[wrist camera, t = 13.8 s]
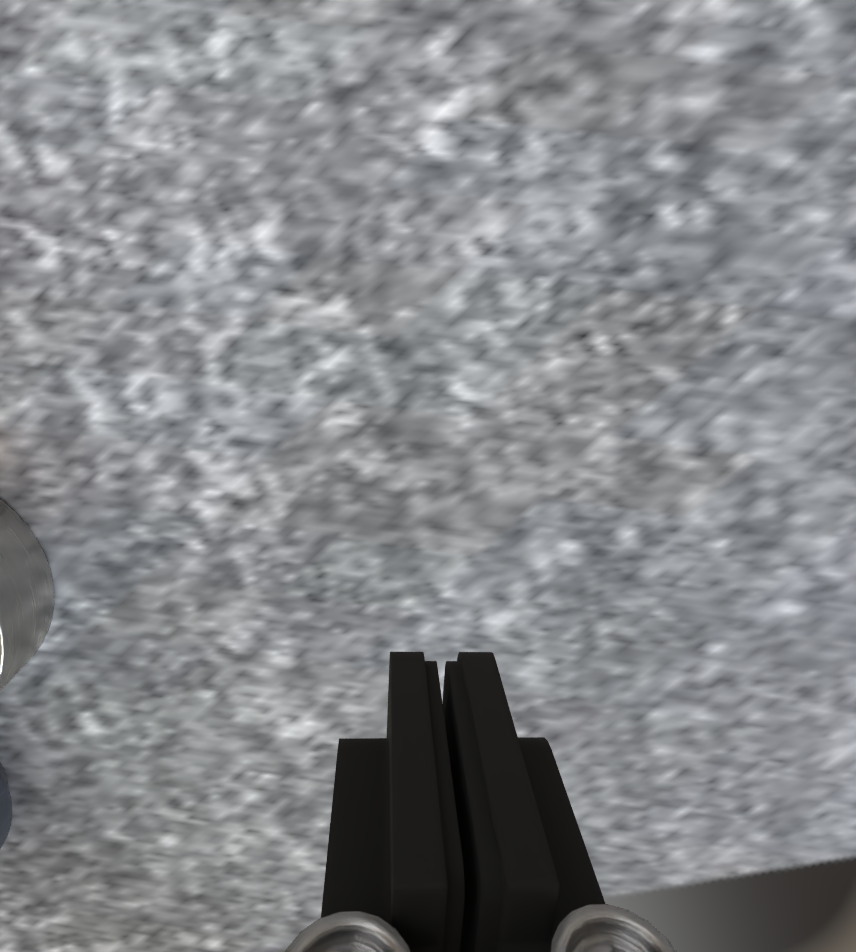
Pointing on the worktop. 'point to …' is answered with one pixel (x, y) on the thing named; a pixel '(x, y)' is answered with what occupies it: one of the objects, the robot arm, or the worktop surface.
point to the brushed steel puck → (21, 594)
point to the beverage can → (4, 807)
